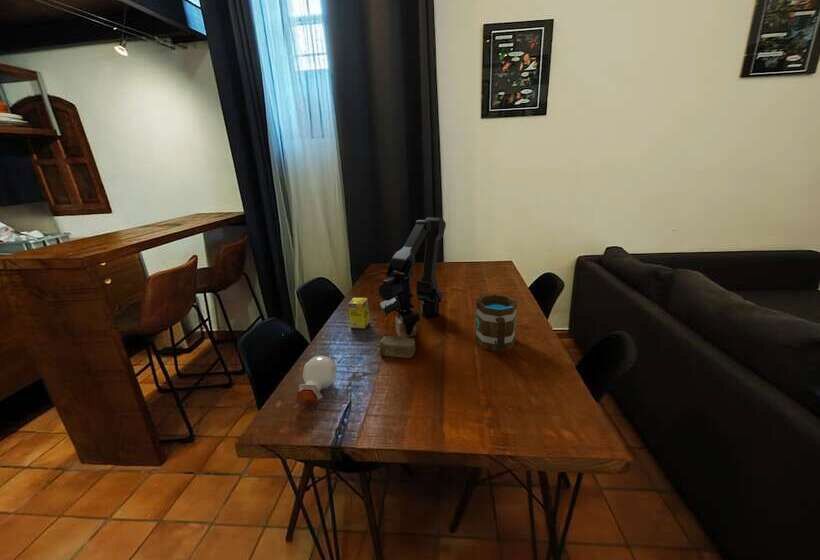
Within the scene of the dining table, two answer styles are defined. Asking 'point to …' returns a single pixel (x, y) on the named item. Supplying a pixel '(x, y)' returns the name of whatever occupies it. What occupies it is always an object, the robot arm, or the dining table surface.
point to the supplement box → (359, 313)
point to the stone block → (397, 346)
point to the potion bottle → (315, 380)
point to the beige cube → (403, 328)
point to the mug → (496, 322)
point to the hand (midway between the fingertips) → (405, 329)
